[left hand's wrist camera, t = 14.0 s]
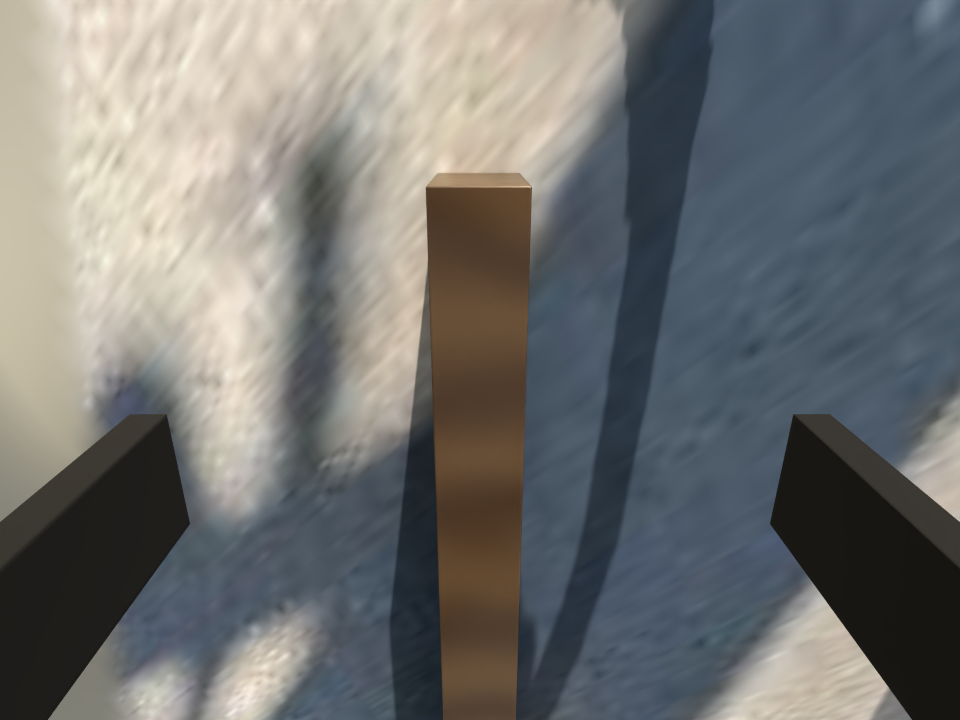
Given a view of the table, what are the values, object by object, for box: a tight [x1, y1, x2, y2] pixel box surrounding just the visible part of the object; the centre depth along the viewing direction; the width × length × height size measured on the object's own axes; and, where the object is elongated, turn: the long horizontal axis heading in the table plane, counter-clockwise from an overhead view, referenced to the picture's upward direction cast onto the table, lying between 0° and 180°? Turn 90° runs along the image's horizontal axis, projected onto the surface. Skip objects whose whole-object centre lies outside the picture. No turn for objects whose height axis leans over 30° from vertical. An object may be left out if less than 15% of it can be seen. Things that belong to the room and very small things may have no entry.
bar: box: [426, 173, 532, 720], centre depth 42 cm, size 54×5×8 cm, turn 0°
